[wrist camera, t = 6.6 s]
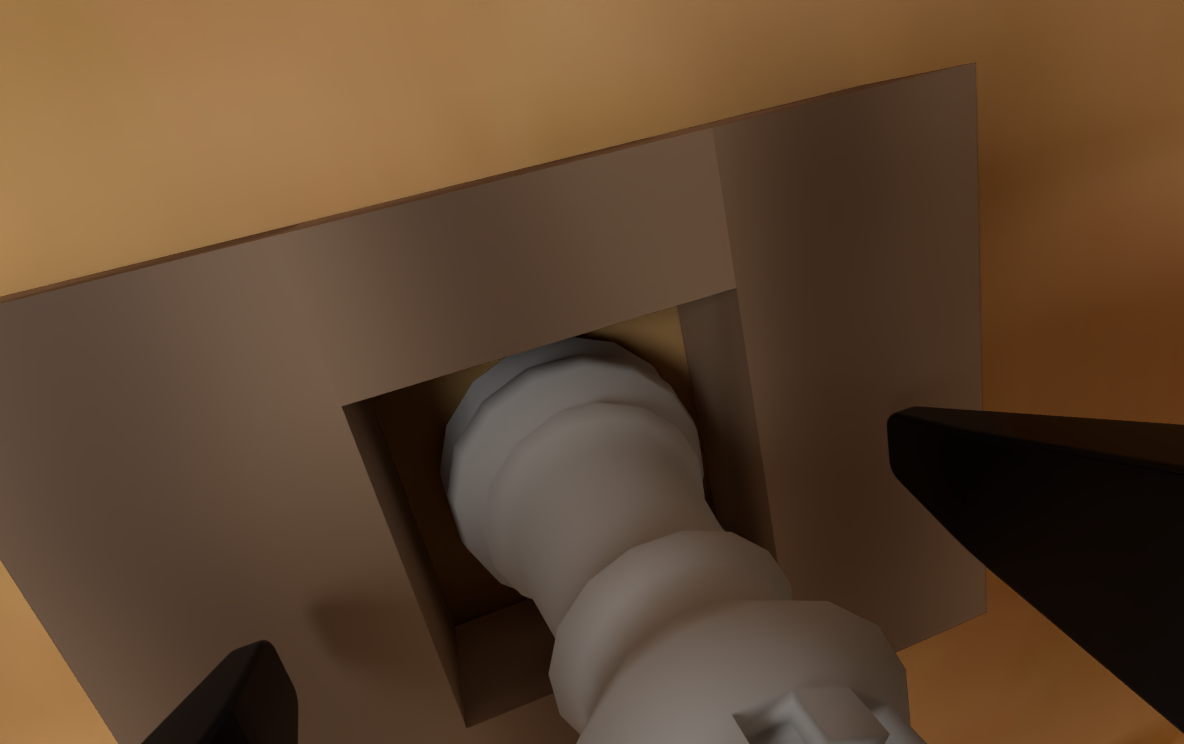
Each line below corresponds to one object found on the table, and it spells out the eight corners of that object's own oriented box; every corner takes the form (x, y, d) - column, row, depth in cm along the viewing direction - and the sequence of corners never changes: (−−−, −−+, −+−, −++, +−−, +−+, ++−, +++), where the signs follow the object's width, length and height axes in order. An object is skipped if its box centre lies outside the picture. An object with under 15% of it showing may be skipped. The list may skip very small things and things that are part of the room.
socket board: (862, 85, 12) (976, 62, 9) (896, 546, 15) (986, 612, 13) (-3, 298, 9) (-142, 339, 7) (273, 797, 12) (243, 938, 10)
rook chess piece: (625, 287, 12) (1022, 489, 4) (703, 486, 13) (1088, 884, 6) (391, 401, 11) (368, 868, 4) (503, 594, 13) (646, 1187, 5)
